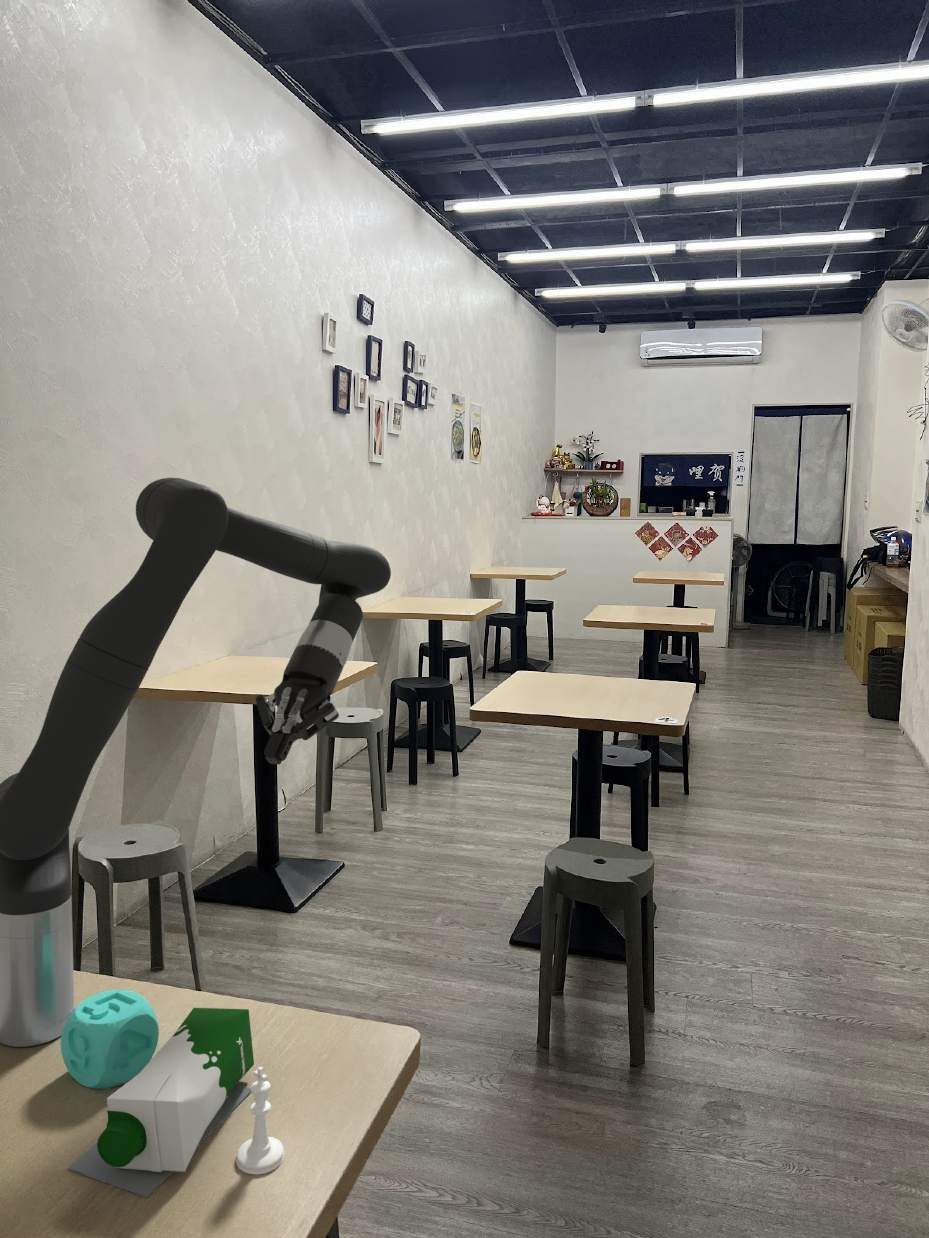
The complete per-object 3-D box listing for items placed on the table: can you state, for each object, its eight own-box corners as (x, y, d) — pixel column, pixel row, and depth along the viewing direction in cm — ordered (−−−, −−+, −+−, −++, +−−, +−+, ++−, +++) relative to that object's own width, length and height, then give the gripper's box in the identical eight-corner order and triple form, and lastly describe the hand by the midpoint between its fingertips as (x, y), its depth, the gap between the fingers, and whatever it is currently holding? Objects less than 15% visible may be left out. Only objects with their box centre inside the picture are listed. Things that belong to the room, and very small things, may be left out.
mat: (67, 1169, 92) (67, 1167, 92) (182, 1069, 108) (182, 1068, 108) (147, 1197, 88) (147, 1195, 88) (252, 1090, 105) (252, 1088, 105)
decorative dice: (160, 1062, 110) (159, 1000, 109) (105, 1098, 103) (103, 1032, 102) (116, 1042, 114) (115, 982, 113) (60, 1075, 107) (58, 1011, 106)
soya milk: (186, 999, 108) (88, 1105, 89) (256, 1001, 107) (172, 1109, 87) (193, 1068, 109) (98, 1188, 90) (263, 1071, 107) (182, 1194, 88)
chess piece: (264, 1134, 98) (264, 1048, 96) (294, 1156, 94) (294, 1066, 93) (226, 1159, 94) (226, 1069, 93) (256, 1182, 91) (256, 1089, 90)
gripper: (270, 639, 130) (218, 740, 120) (351, 646, 126) (304, 752, 116) (289, 670, 136) (242, 769, 126) (367, 677, 131) (325, 781, 121)
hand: (272, 760), depth 121 cm, fingers closed
